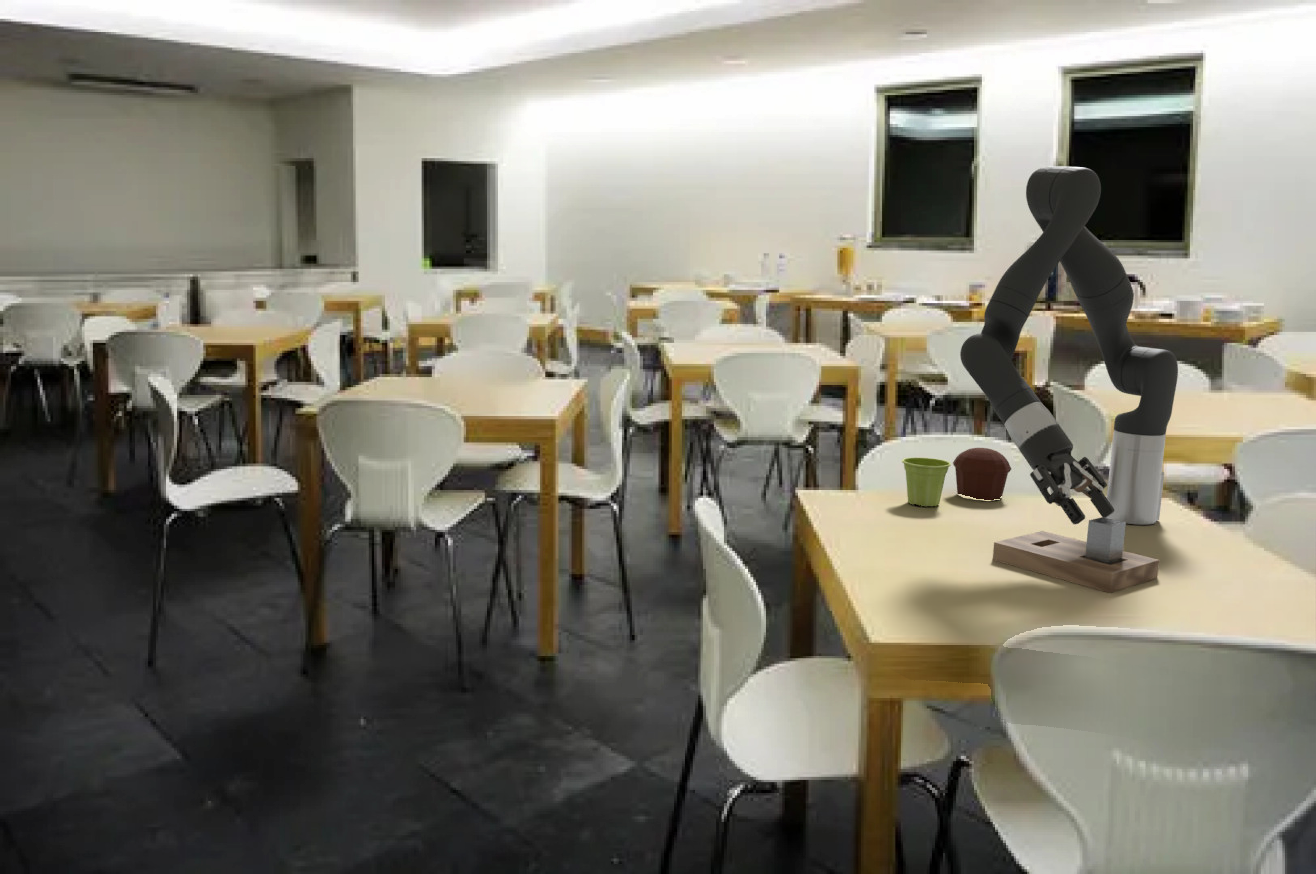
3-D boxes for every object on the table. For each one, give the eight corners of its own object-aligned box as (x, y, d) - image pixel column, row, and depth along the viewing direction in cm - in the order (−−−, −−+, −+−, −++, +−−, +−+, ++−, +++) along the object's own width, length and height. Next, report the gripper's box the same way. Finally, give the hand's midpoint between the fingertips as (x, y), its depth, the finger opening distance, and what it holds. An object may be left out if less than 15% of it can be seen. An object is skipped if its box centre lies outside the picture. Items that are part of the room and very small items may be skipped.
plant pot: (892, 498, 232) (895, 456, 231) (935, 498, 234) (938, 456, 232) (910, 509, 223) (913, 466, 222) (955, 509, 225) (958, 466, 223)
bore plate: (1041, 547, 198) (1042, 530, 198) (1157, 578, 182) (1159, 560, 182) (992, 559, 190) (994, 542, 189) (1110, 592, 173) (1112, 573, 173)
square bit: (1096, 571, 185) (1102, 517, 183) (1119, 577, 182) (1125, 522, 180) (1083, 575, 182) (1088, 520, 181) (1106, 581, 179) (1112, 525, 178)
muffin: (1012, 495, 239) (1016, 448, 238) (1004, 505, 229) (1009, 456, 228) (955, 488, 244) (959, 442, 243) (945, 498, 234) (948, 450, 233)
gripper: (1028, 426, 182) (1087, 511, 175) (1078, 419, 191) (1135, 499, 184) (997, 453, 187) (1053, 537, 180) (1046, 445, 196) (1102, 524, 189)
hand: (1095, 518), depth 182 cm, fingers open, 8 cm apart
